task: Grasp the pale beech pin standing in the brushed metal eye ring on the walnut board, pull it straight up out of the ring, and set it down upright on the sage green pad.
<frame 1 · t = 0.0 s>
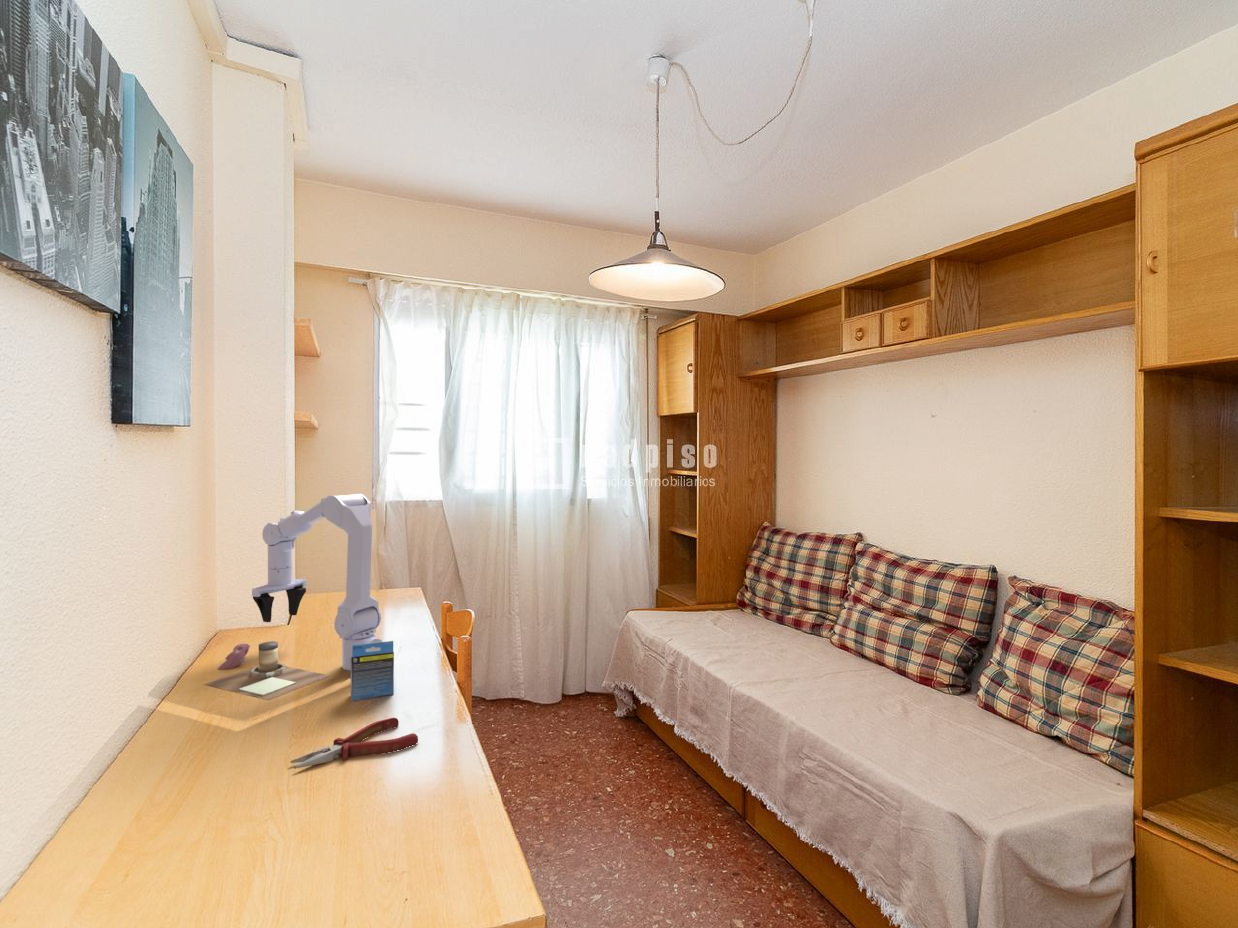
hand: (280, 618, 163), 10 cm above the table, tool pointing down, fingers open, 7 cm apart
sage pad: (267, 686, 137), resting on walnut board
beech pin: (268, 658, 146), in the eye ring, point 5 cm above the table, touching walnut board
label tape box: (372, 696, 137), on the table
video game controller: (234, 668, 154), on the table
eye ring: (268, 670, 146), on the walnut board, point 2 cm above the table
walnut board: (268, 686, 142), on the table
pliers: (357, 749, 113), on the table
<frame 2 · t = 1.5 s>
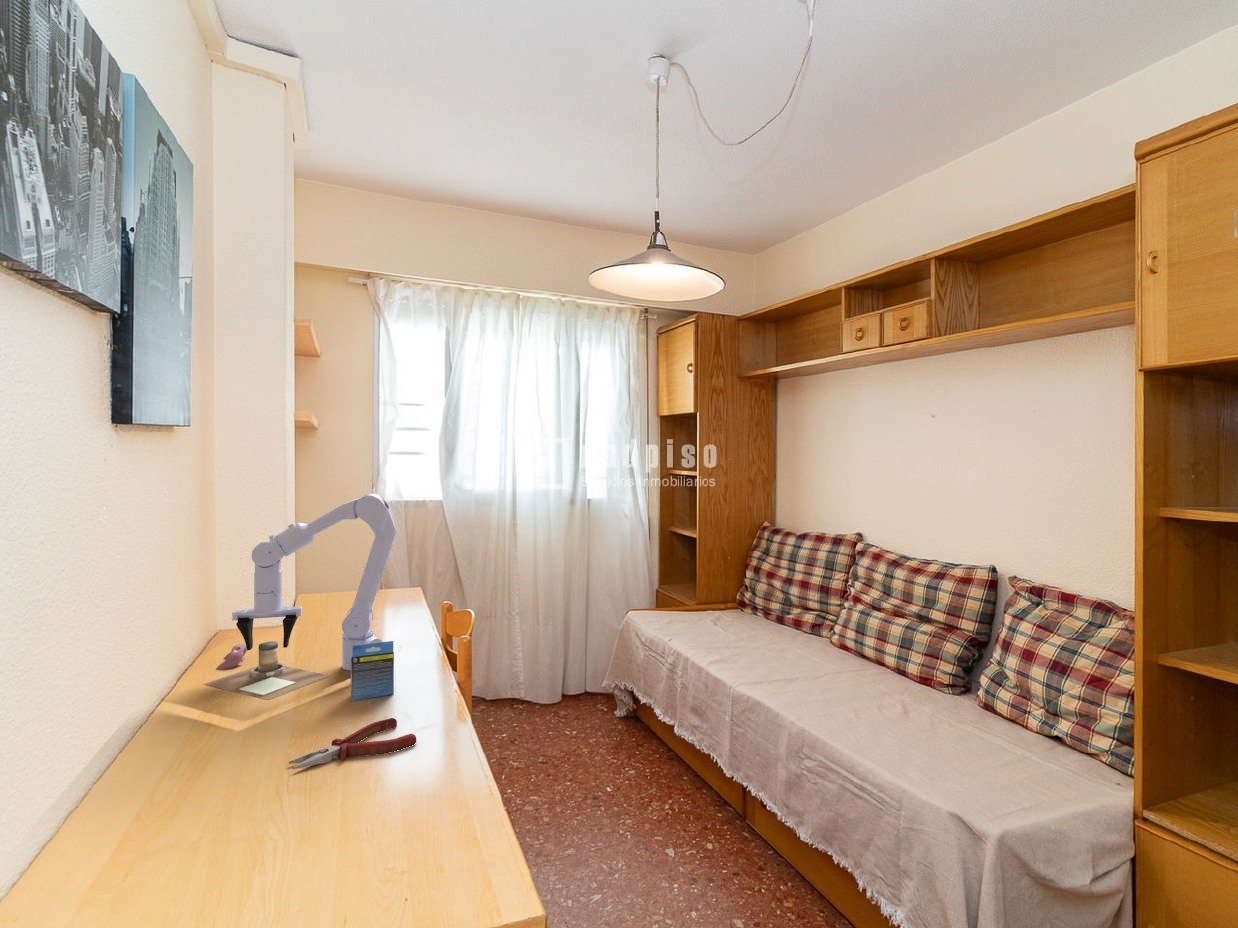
hand: (268, 647, 146), 8 cm above the table, tool pointing down, fingers open, 7 cm apart
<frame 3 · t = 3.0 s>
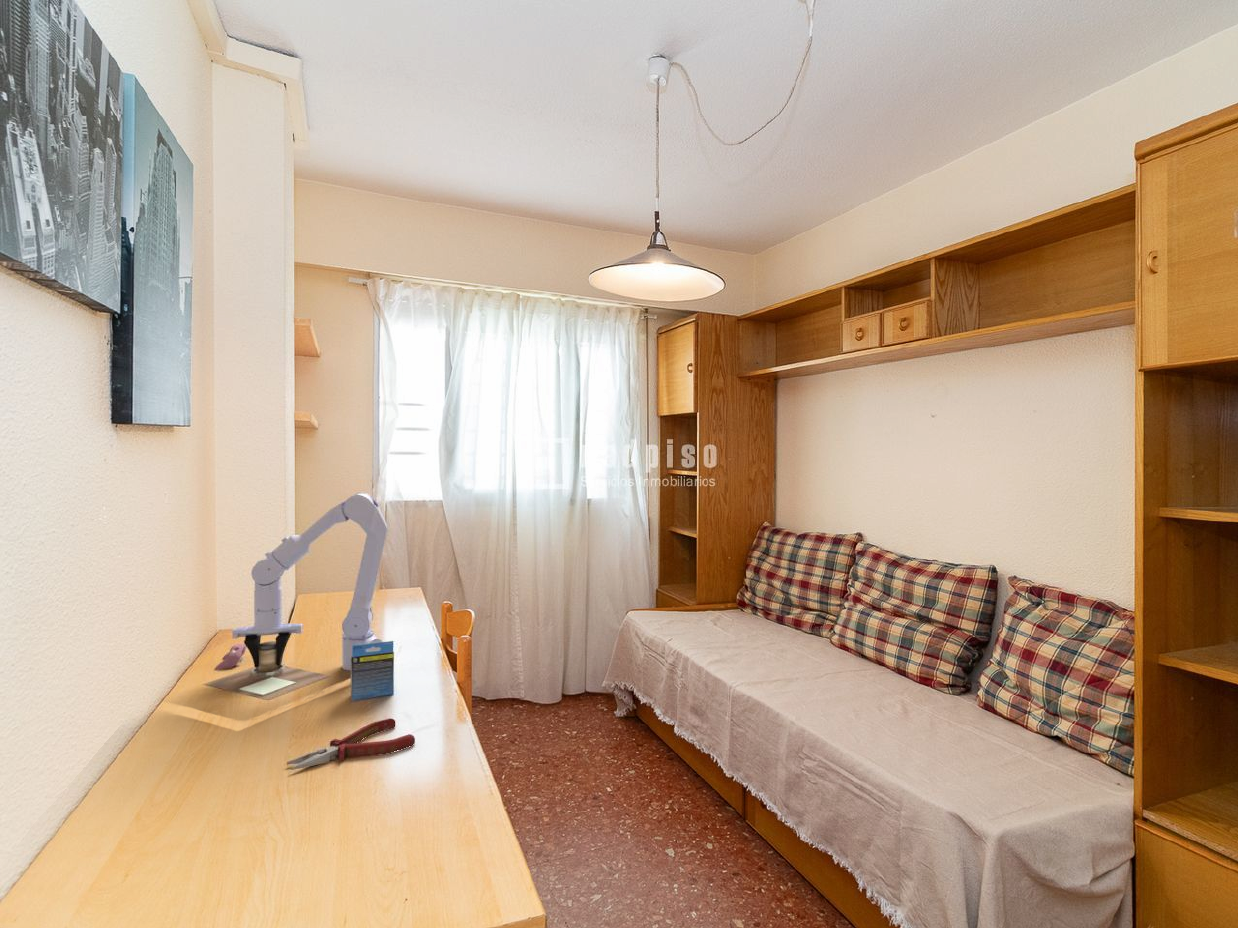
hand: (268, 665, 146), 3 cm above the table, tool pointing down, fingers closed on beech pin, 4 cm apart
beech pin: (268, 658, 146), in the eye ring, point 5 cm above the table, touching gripper, walnut board
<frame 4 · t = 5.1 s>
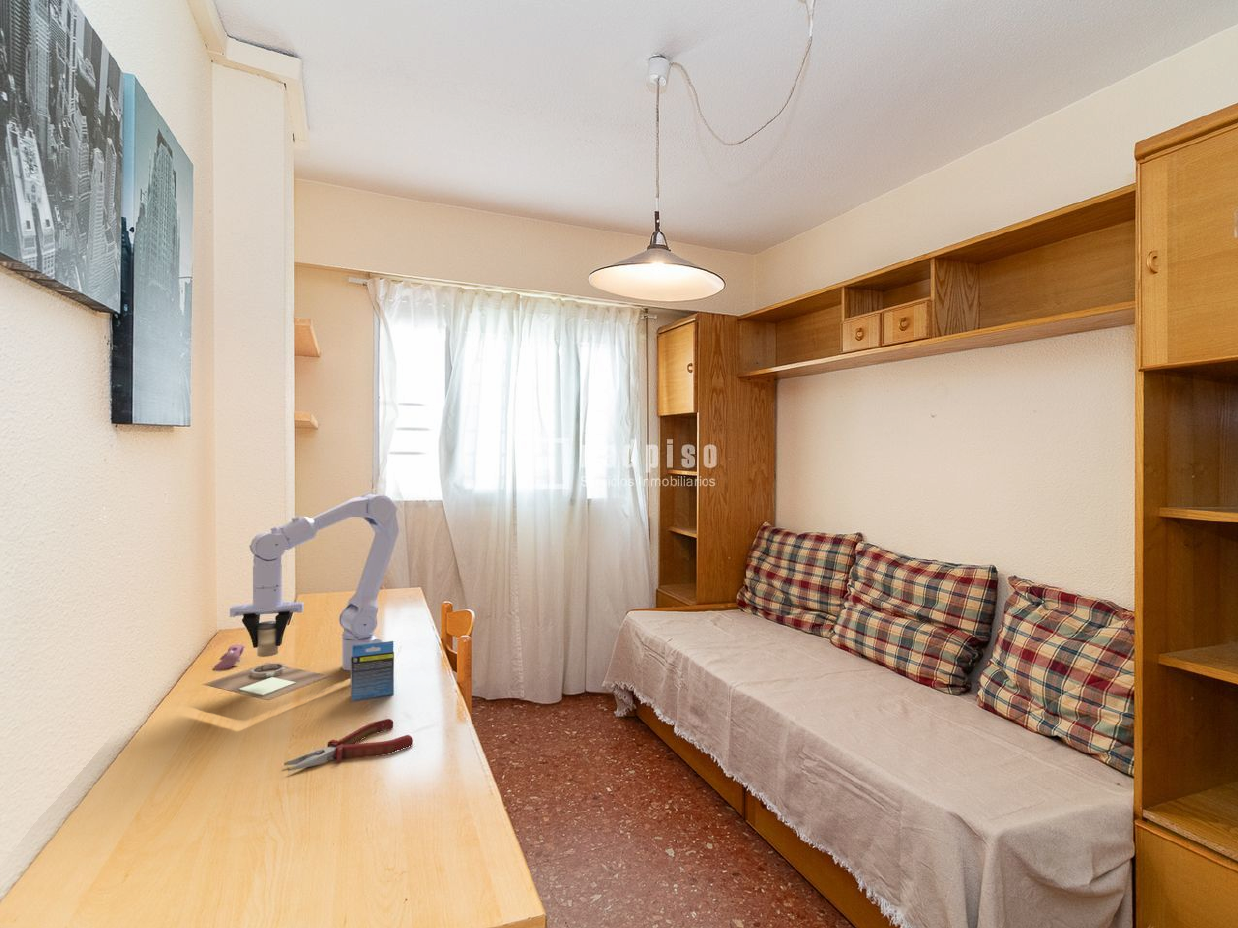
hand: (267, 645, 139), 10 cm above the table, tool pointing down, fingers closed on beech pin, 4 cm apart
beech pin: (267, 638, 139), point 12 cm above the table, touching gripper
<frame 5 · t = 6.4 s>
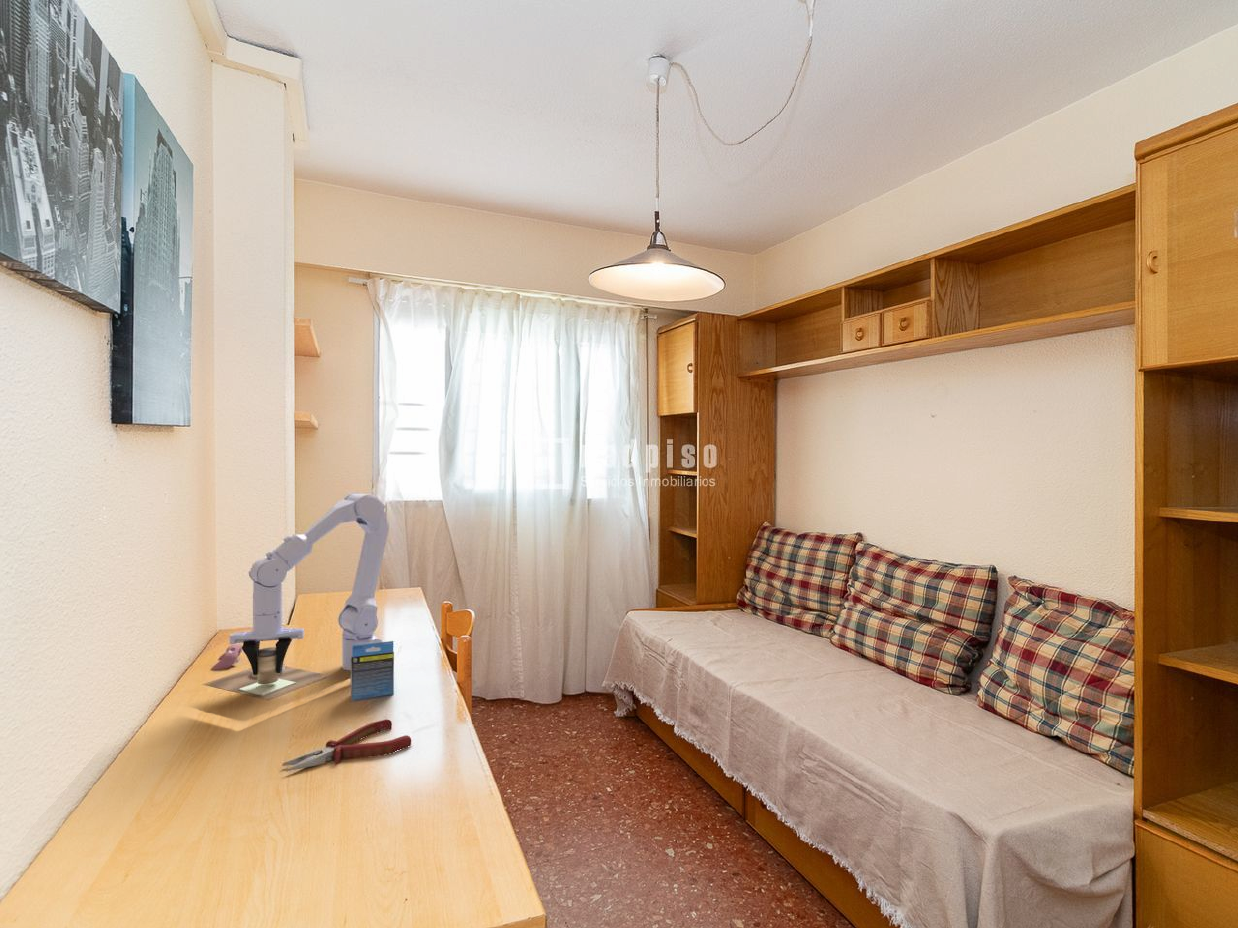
hand: (267, 672, 137), 5 cm above the table, tool pointing down, fingers closed on beech pin, 4 cm apart
beech pin: (267, 665, 137), point 6 cm above the table, touching gripper
when the fingers open (5 cm above the table, at t = 7.2 s): beech pin stays where it is, resting on sage pad.
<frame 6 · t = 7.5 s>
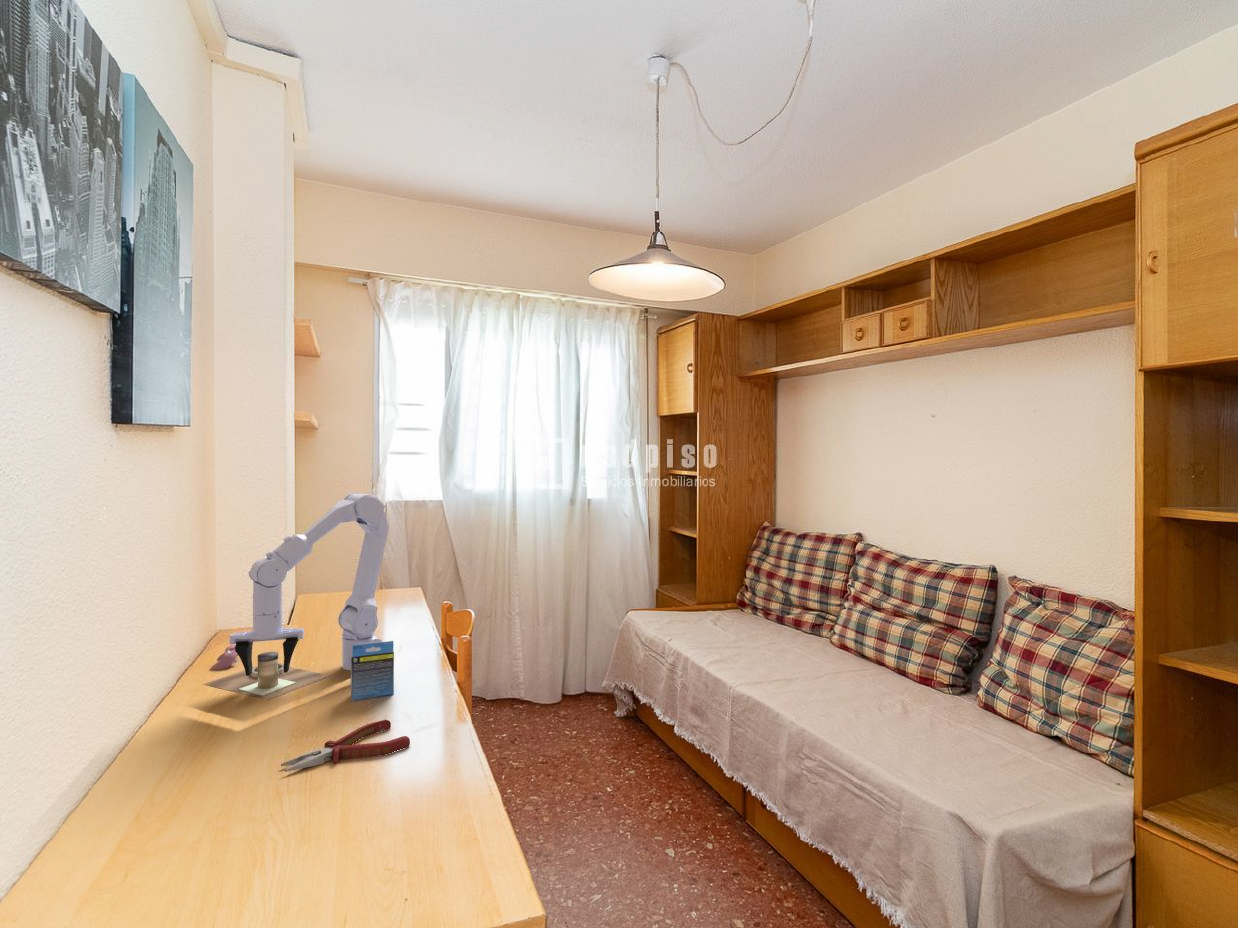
hand: (267, 672, 137), 5 cm above the table, tool pointing down, fingers open, 7 cm apart
beech pin: (268, 669, 137), point 5 cm above the table, touching sage pad
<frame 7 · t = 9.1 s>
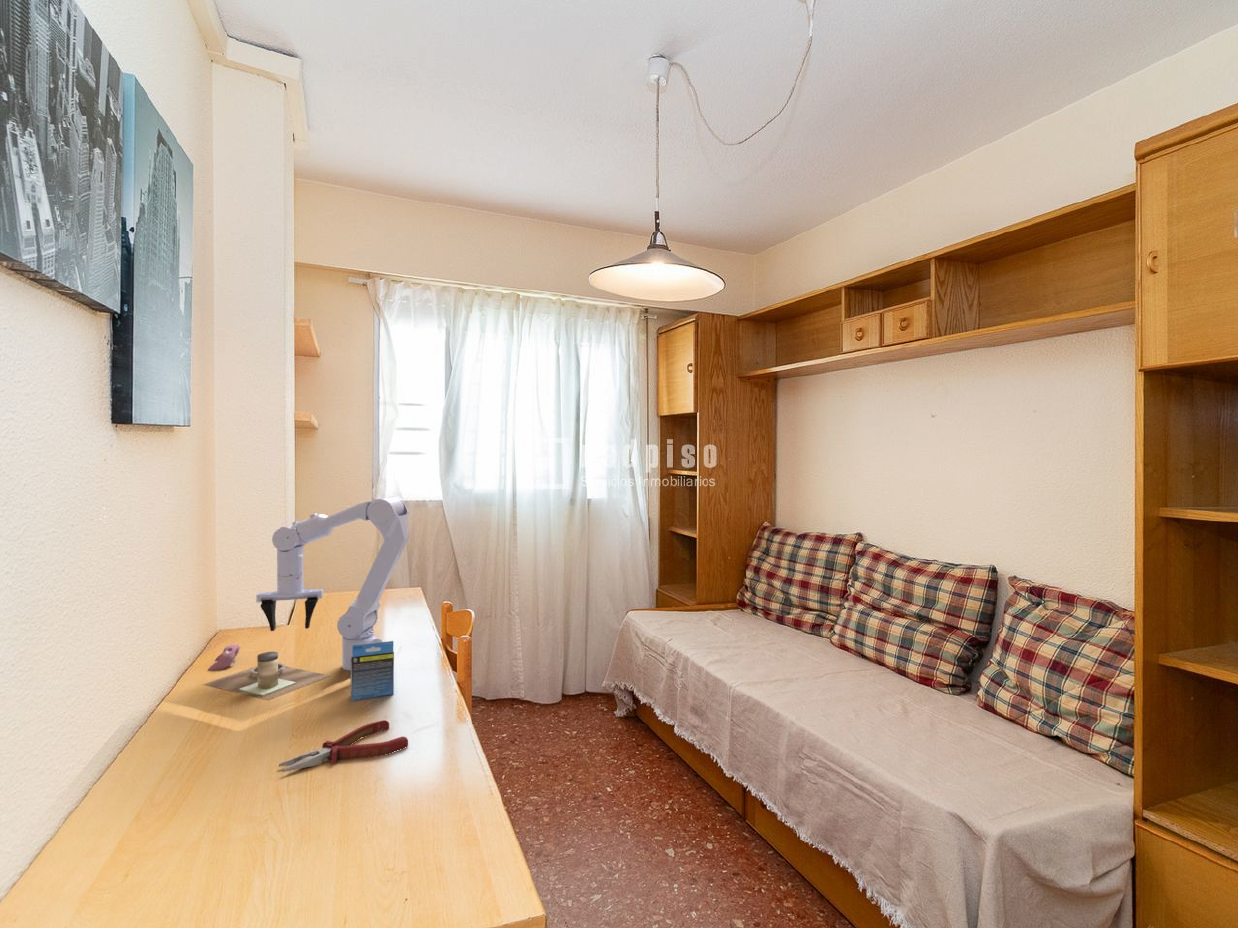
hand: (290, 628, 152), 10 cm above the table, tool pointing down, fingers open, 7 cm apart
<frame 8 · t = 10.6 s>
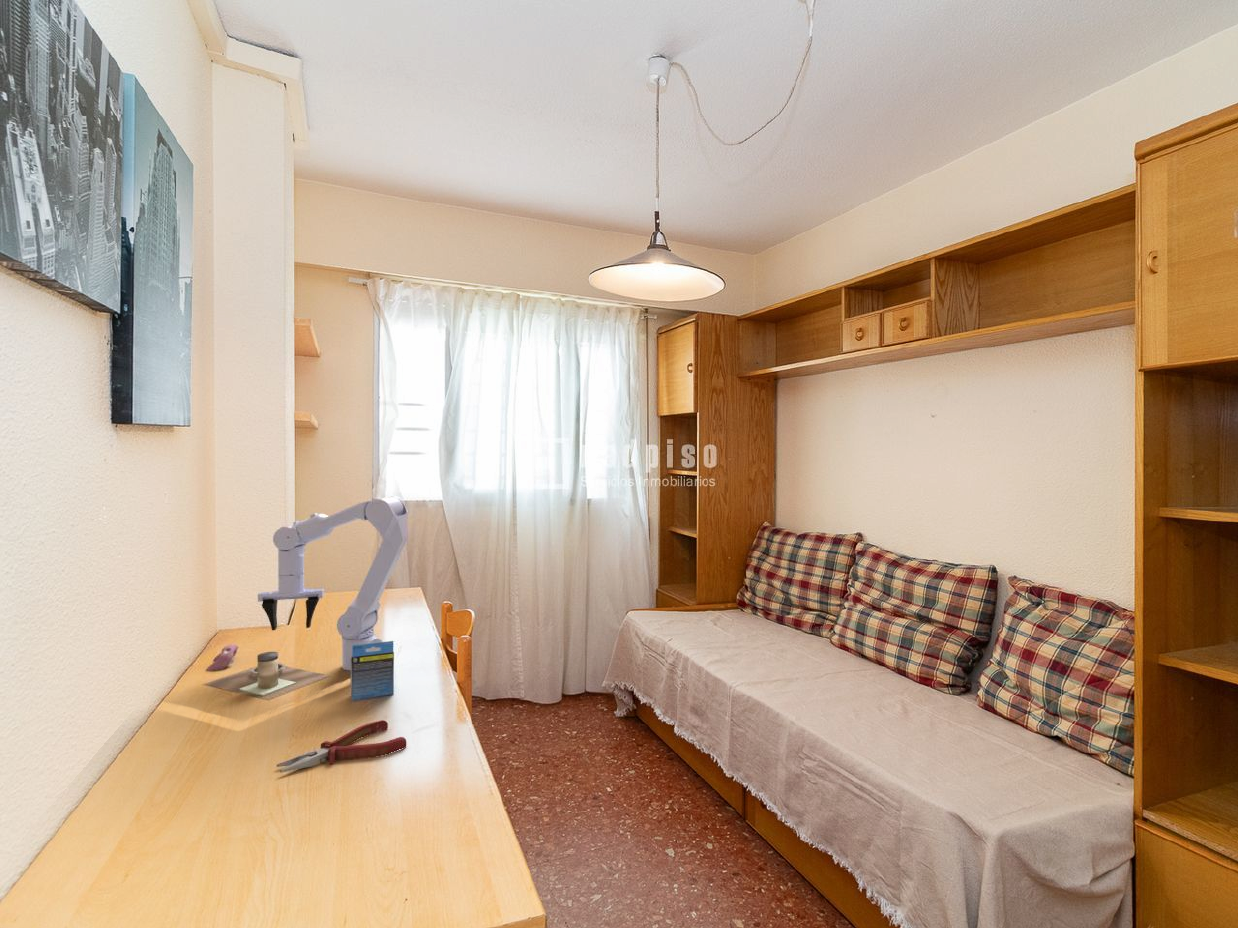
hand: (291, 627, 153), 10 cm above the table, tool pointing down, fingers open, 7 cm apart
at the end: beech pin 0.0 cm from the target spot, point 5.3 cm above the table; beech pin tilted 0°; the gripper is holding nothing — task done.
